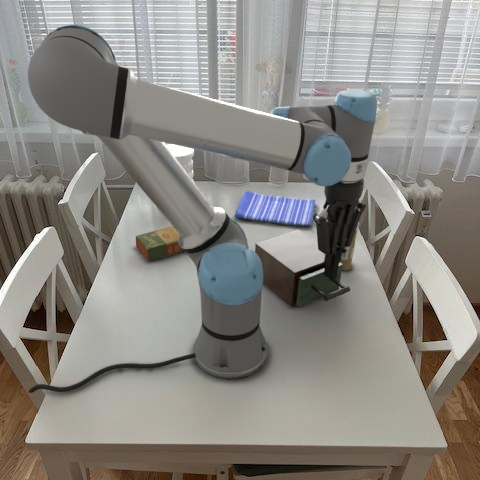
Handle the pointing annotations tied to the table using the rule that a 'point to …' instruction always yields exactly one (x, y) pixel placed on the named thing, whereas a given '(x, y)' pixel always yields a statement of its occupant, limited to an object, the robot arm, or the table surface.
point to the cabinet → (287, 261)
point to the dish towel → (276, 209)
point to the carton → (158, 243)
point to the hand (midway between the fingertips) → (330, 276)
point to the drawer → (318, 286)
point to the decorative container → (183, 157)
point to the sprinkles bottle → (349, 253)
